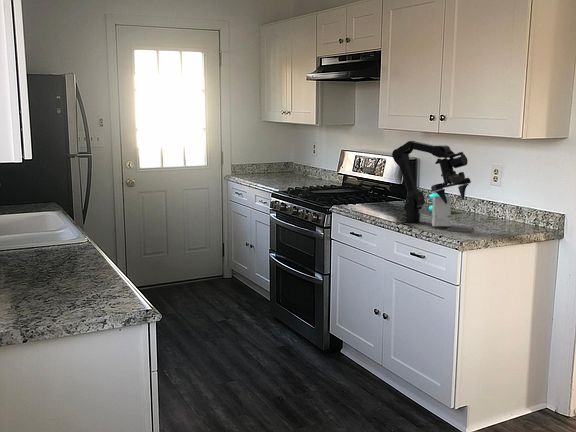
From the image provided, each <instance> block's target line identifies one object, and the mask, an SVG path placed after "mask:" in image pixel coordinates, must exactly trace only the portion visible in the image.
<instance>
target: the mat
mask: <svg viewBox="0 0 576 432" xmlns="http://www.w3.org/2000/svg"><path fill="white" fill-rule="evenodd" d="M473 228H474V226H472V225H461V224H460V225H459V224H451V226H449V227H447V229H446V232H458V233H469V234H470V233H472V231H473Z"/></svg>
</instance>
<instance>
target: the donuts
mask: <svg viewBox="0 0 576 432" xmlns="http://www.w3.org/2000/svg"><path fill="white" fill-rule="evenodd" d="M434 196H439V195H438V194H437V193H435V192H434V193H431V194H429V199H430V200H432V197H434ZM445 196H446V197H449V196H448V195H447V194H446V193H445ZM428 210H429V211H430V212H432V205H429V207H428Z"/></svg>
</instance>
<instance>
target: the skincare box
mask: <svg viewBox="0 0 576 432" xmlns="http://www.w3.org/2000/svg"><path fill="white" fill-rule="evenodd" d="M446 199H447V204H445V202H444V201H443V200H442V198H441V197H440V196H434V197H432V199H431V200H432V201H431V203H432V213H431V214H432V215H431V220H432V221H431V226H432V227H443V228H444V227H446V228H449V226H451V225H452V223H451V222H452V220H451V219H452V216H451V215H452V212H451V211H452V196H448V197H446Z"/></svg>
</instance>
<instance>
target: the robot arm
mask: <svg viewBox="0 0 576 432" xmlns="http://www.w3.org/2000/svg"><path fill="white" fill-rule="evenodd" d="M414 150H415V151H418V152H424V153H428V154H431V155H432V156H434V157H436V158H437V159H436V161H435V163H434V164H435V165H439V167H440V171H441V174H440V176H441V177H442V179H443V182H441V183H436V184H432V185H431V188H430V189H431V192H434V193H437V194H438V195H439V196H440V197H441V198H442V200H443V201H444V202H445V204H447V199H446V196H445V194H446V193H445V192H446V189H445V188H449V187H454V186H458V187H457V188H458V191H459V195H460V197H461V200H462V201H464V200H465V194H466V190H467V189H466V188H467V187H468V186H469V184H471V183H472V181H471V179H470V178H469V177H465V176H466V175H465V172H464V171H460V172H458V173H457V172H456V170H454V169H458V168H461V167H465V166H467V165H468V161H469V159H468V158H467V156H466V154H465V153H464V151H460V152H457V153H456V152H453V150H452V149H451V148H450V146H449V145H441V144H440V145H433V144H429V143H425V142H419V141H415V140H408V141H406V143H404V144H402V145H401V146H399V147H398V148H395V149H393V151H392V153H391V156H392V159H393V161H394V163H395V164H396V165H397V166H398V167H399V170H400V172H401V175H402V179H403V182H404V184H405V186H406V190H407V202H406V203H405V204H404V205H403V208H404V211H406V212H405V213H406V214H405V220H404V221H405V223H416V224H418V223H419V222H420V221H421V212H420V211H421V210H422V209H423V207H424V205H425V203H426V197H425V194H424V192H423V191H419V189H418V187H417V184H416V182H415V178H414V176H413V173H412V170H411V166H410V165H409V164H410V163H409V162H410V155H411V153H412V152H413V151H414Z"/></svg>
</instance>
